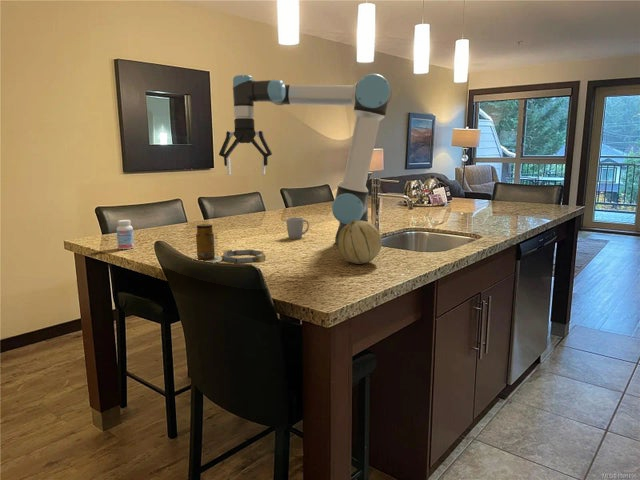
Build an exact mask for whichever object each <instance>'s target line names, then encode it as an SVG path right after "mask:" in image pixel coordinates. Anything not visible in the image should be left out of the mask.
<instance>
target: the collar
mask: <svg viewBox="0 0 640 480" xmlns="http://www.w3.org/2000/svg"><path fill="white" fill-rule="evenodd" d="M237 255H239V256H240V255H241V256H242V255H253V256H252V257H251V256H249V257H234V256H237ZM223 261H224V262H228V263H235V264H241V263H244V264H245V263H254V262H258V263H259V262H260V263H261V262H264V261H266V254H265V253H264V251H262V250H256V249H238V250H232V249H230V248H229V249H228V248H227V249H224V250H223Z"/></svg>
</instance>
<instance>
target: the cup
mask: <svg viewBox="0 0 640 480" xmlns="http://www.w3.org/2000/svg"><path fill="white" fill-rule="evenodd" d="M285 220H286V221H285V222H286V229H287V235H288V239H291V240H298V239H299V238H300V239H301V238H302V237H303V235H305V234H306V233H307V232H308V231H309V227H310V225H309V224H310V223H309V221H308V220H307V219H304V218H303V217H296V216H295V217H287V218H286V219H285ZM304 223H306V225H307V228H306V229H305V230H304V231H303V229H304ZM300 239H299V240H300Z"/></svg>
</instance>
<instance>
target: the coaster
mask: <svg viewBox="0 0 640 480" xmlns="http://www.w3.org/2000/svg"><path fill="white" fill-rule="evenodd" d="M215 257H219V256H216V255H215ZM222 261H223V258H222V259H218V260H214V261H211V262H218V263H220V262H222Z"/></svg>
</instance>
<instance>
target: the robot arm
mask: <svg viewBox="0 0 640 480" xmlns="http://www.w3.org/2000/svg"><path fill="white" fill-rule="evenodd" d="M232 94H233V95H232V97H233V117H234V120H233V121H234V122H233V123H234V131H233V132H232V131H228V130H227V131H226V132H225V134H226V135H225V138H224V141H223V144H222V146H221V149H220V151H219V152H218V155H219V156H220V157H223V162H224V163H223V165H224V167H226V170H227V171H226V175H229V176H230V175H232V171H231V170H232V167H231V165H232V164H231V163H232V162H231V157H229V156H230V154H232V153H233V151H234V150H235V148H237V146H238V145H239V144H252V145H253V146H254V147H255V148H256V149H257V151H258V152H259V153H260V155H262V157H261V175H266V167H267V166H268V162H269V161H268V157H270V156H273V152H272V151H271V148H270V146H269V145H268V143H267V140H266V139H265V137H264V132H263V131H262V130H259V131H256V130H255V120H254V117H255V105H254V103H255V102H257V103H259V102H261V103H263V102H264V103H265V102H267V103H271V104H274V105H276V106H285V105H287V106H288V105H299V106H300V105H301V106H302V105H304V106H309V105H310V106H350V107H352V106H353V112H354V114H355V115H356V117H355V121H354V127H353V132H352V136H351V142H350V146H349V147H350V148H349V151H348V156H347V161H346V165H345V171H344V175H343V180H342V182H340V183H339V184H338V185H337V189H336V193H335V198H334V200H333V202H332V205H331V213H332V216H333V217H334V218H335V219H336V220H337V221H338V222H339V224H338V226H337V227H338V228H337V230H336V231H337V232H336V234H335V237H334V243H335V244H336V245H338V236H339V233H340V231H341V230H342V229H343V228H344V227H345V226H346V225H347V224H349V223H351V221H367V222H369V220H368V219H369V189H368V187H367V180H368V177H369V172H370V167H371V163H372V158H373V153H374V150H375V149H374V148H375V144H376V140H377V136H378V132H379V125H380V121H382V120H383V119H384V118H385V117H386V115H387V110H388V104H389V103H390V101H391V99H392V89H391V85H390V83H389V81H388V79H386V77H384V76H383V75H381V74H378V73H369V74H367V75H365V76H363V77H361V79H360V80H358V82H355V83H354V84H351V85H349V84H347V85H346V84H345V85H343V84H341V85H340V84H338V85H337V84H336V85H334V84H331V85H330V84H285V83H284V81H283V80H281V79H280V80H279V79H270V80H269V79H268V80H254V78H253V76H252V75H249V74H238V75H234V77H233V79H232ZM233 136H234V138H235V139H234V141H233V143H232V144H231V145H230V146H229V147H228V145H229V143H230V141H231V139H232V138H233ZM256 136H257V137H258V138H259V140H260V141H261V144H262V145H263V147H264V149H265V150H264V149H263V148H262V147H261V146H260V145H259V143H258V142H257V141H256V140H255V137H256Z"/></svg>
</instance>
